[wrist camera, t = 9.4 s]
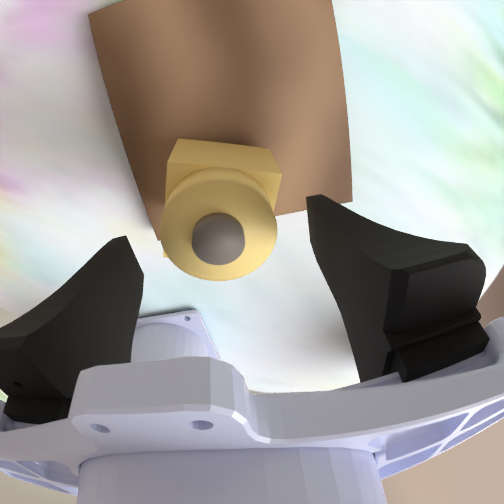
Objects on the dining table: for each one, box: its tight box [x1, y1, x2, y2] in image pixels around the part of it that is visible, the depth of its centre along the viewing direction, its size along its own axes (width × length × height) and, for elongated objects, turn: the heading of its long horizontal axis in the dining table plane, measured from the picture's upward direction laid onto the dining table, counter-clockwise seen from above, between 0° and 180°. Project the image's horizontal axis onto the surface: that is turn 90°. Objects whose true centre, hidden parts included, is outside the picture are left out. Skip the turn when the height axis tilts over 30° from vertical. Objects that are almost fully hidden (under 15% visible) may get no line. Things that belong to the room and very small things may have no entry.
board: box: [88, 0, 352, 241], centre depth 15 cm, size 12×14×1 cm
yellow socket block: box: [160, 139, 282, 281], centre depth 14 cm, size 5×5×6 cm
